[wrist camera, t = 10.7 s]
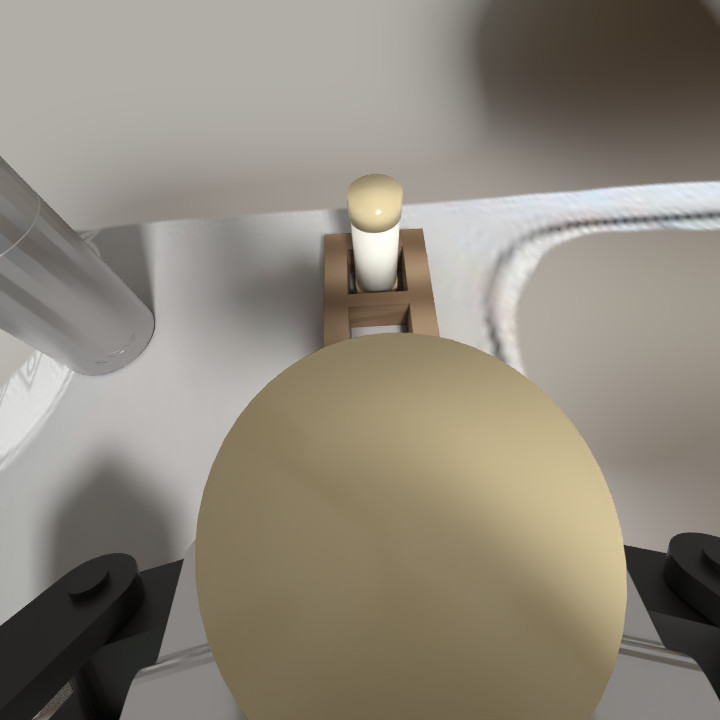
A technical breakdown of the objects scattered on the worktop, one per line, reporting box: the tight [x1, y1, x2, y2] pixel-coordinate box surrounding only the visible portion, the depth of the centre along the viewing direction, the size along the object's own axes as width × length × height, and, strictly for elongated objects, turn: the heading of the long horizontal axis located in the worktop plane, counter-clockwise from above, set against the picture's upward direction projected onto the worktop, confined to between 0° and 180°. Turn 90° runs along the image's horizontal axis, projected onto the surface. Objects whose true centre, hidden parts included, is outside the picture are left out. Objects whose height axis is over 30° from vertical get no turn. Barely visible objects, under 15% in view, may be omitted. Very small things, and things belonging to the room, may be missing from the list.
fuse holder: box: [323, 228, 440, 348], centre depth 35 cm, size 17×10×4 cm, turn 2°
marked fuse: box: [195, 333, 627, 720], centre depth 9 cm, size 4×4×12 cm
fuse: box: [347, 174, 403, 294], centre depth 32 cm, size 4×4×12 cm
